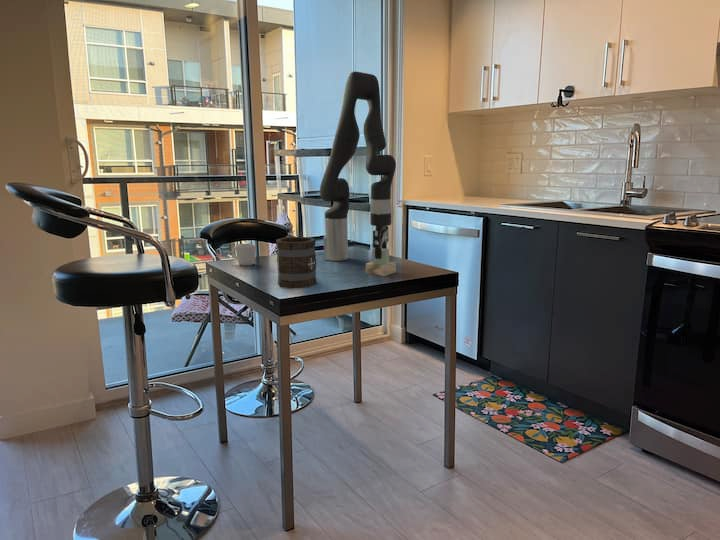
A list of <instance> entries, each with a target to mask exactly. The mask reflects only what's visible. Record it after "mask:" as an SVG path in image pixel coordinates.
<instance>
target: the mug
mask: <svg viewBox="0 0 720 540" xmlns="http://www.w3.org/2000/svg"><path fill="white" fill-rule="evenodd" d="M275 241H276V243H275V244H276V250H277V257H276V258H277V259H276V263H277V264H276V265H277V275H278V276H277V278H278V279H277V285H278V286H279V288H285V289H304V288H305V289H306V287H307V288H311V287H313V286H316V285H317V284H318V283H317V272H316V271H317V256H316V241H317V240H316V239H315V238H314V237H309V236H308V237H307V236H291V237H290V236H288V237H287V236H286V237H282V238H278V239H275ZM310 286H311V287H310Z"/></svg>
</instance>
